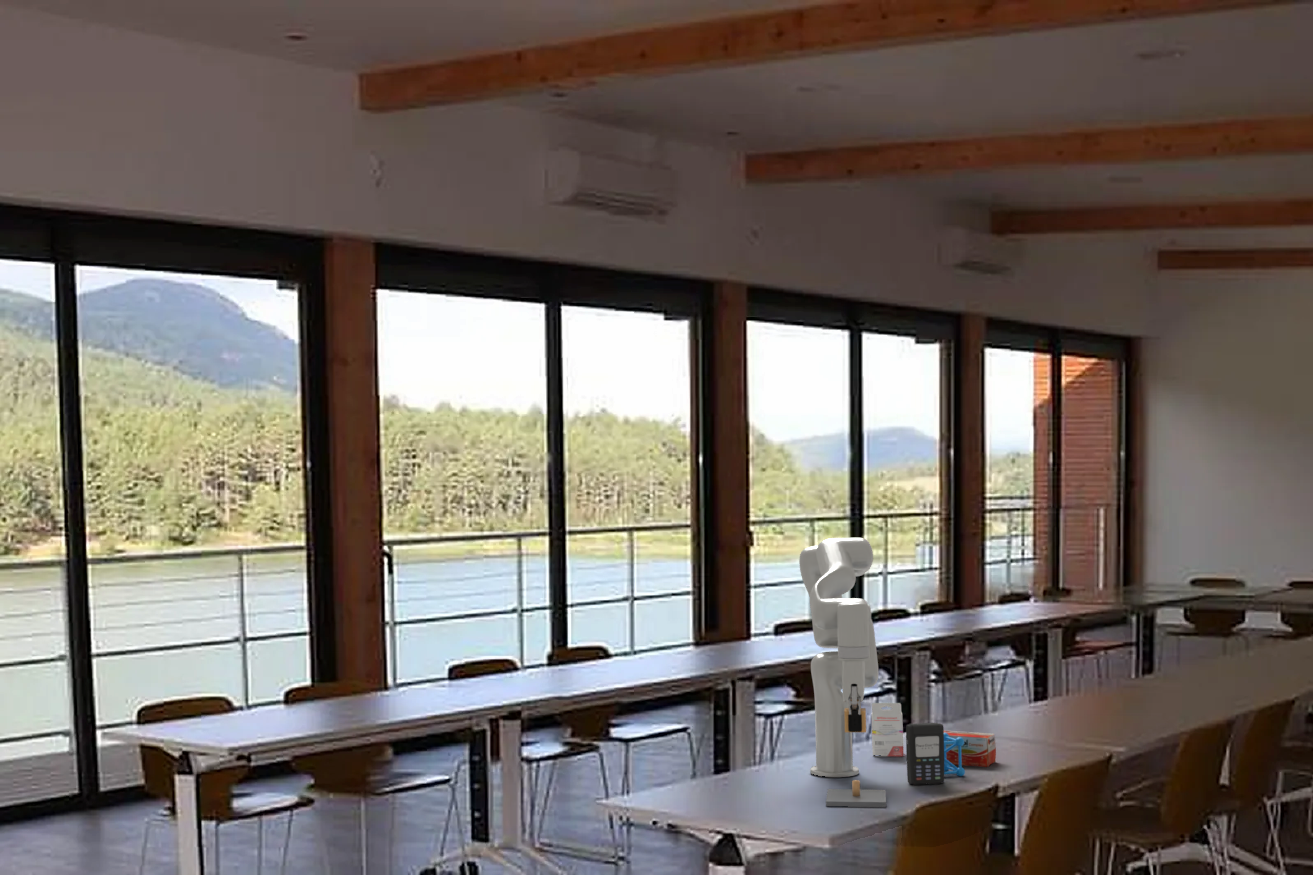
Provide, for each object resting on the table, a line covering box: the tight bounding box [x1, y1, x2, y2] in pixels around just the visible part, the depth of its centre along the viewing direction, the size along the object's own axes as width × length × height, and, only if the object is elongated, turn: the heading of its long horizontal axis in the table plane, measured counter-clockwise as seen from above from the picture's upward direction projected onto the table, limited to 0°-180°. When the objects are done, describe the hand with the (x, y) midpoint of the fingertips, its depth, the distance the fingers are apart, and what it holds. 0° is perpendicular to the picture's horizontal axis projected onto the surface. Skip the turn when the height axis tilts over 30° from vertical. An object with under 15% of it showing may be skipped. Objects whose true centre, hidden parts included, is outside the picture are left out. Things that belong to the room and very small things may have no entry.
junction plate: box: [825, 779, 887, 808], centre depth 367 cm, size 14×14×5 cm
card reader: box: [905, 722, 945, 786], centre depth 385 cm, size 9×4×15 cm, turn 99°
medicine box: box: [944, 730, 997, 768], centre depth 412 cm, size 15×8×8 cm, turn 64°
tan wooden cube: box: [844, 707, 867, 733], centre depth 367 cm, size 5×5×5 cm
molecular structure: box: [944, 733, 966, 777], centre depth 396 cm, size 10×10×10 cm
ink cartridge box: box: [870, 702, 904, 758], centre depth 425 cm, size 9×5×15 cm, turn 81°
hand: (855, 728), depth 367 cm, fingers closed on tan wooden cube, 5 cm apart
